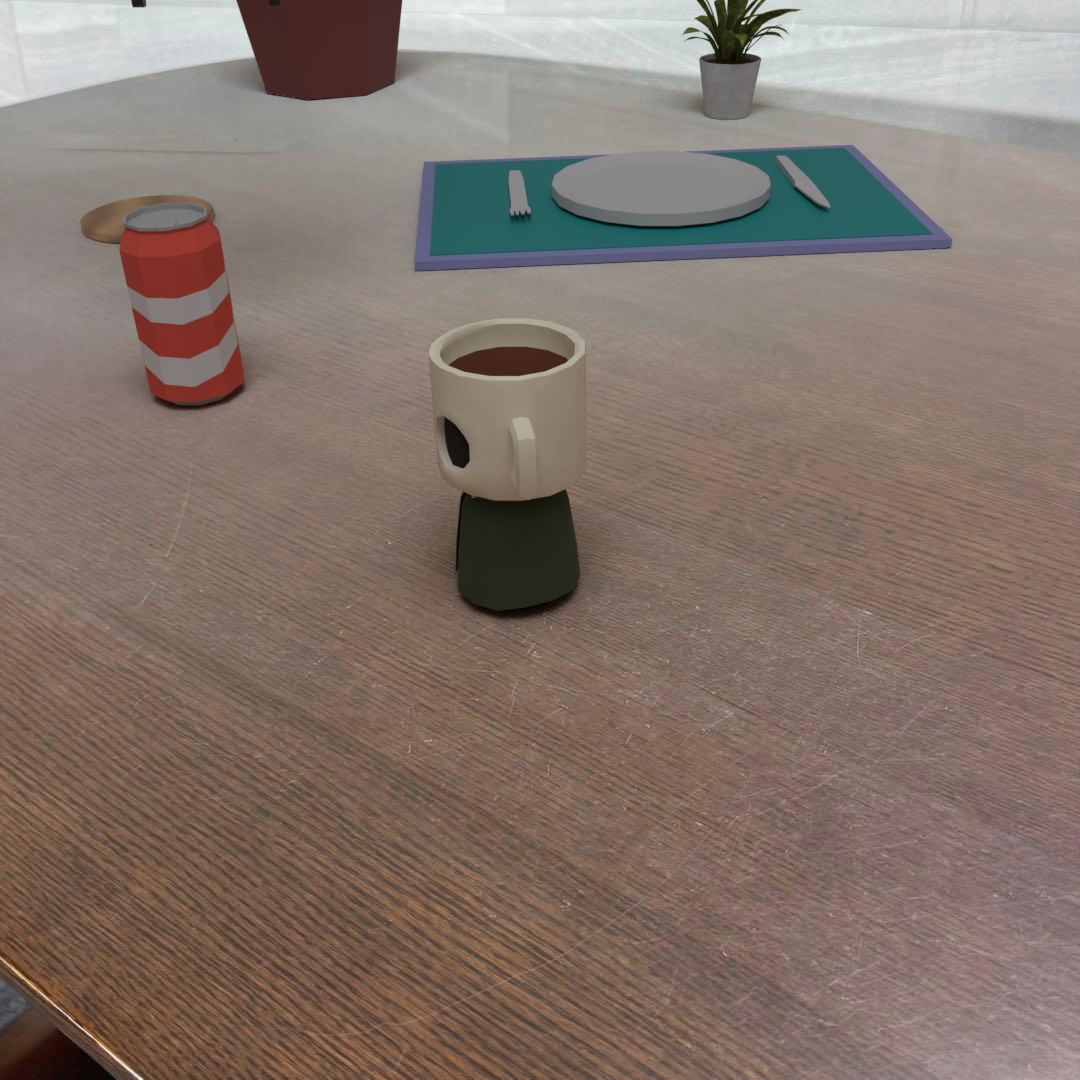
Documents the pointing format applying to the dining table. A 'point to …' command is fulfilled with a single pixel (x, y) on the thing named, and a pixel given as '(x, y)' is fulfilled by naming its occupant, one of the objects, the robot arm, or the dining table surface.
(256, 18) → the bucket
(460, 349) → the character mug
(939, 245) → the place mat
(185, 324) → the beverage can
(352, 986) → the dining table surface
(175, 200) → the cork trivet
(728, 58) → the house plant
